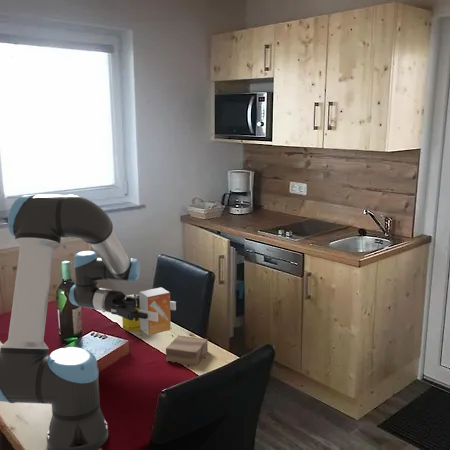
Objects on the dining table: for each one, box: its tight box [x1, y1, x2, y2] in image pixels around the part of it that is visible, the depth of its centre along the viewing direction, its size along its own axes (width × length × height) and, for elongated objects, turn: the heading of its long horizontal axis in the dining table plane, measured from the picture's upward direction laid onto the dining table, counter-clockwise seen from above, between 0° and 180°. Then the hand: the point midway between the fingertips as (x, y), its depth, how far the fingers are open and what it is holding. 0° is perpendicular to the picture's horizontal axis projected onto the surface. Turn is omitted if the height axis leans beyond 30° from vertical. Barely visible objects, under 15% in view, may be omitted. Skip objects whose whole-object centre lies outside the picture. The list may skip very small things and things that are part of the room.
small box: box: [138, 287, 172, 336], centre depth 167 cm, size 8×6×13 cm
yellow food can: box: [121, 293, 142, 332], centre depth 203 cm, size 9×9×12 cm
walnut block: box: [165, 335, 208, 366], centre depth 179 cm, size 11×11×5 cm
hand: (166, 311), depth 165 cm, fingers closed on small box, 10 cm apart
